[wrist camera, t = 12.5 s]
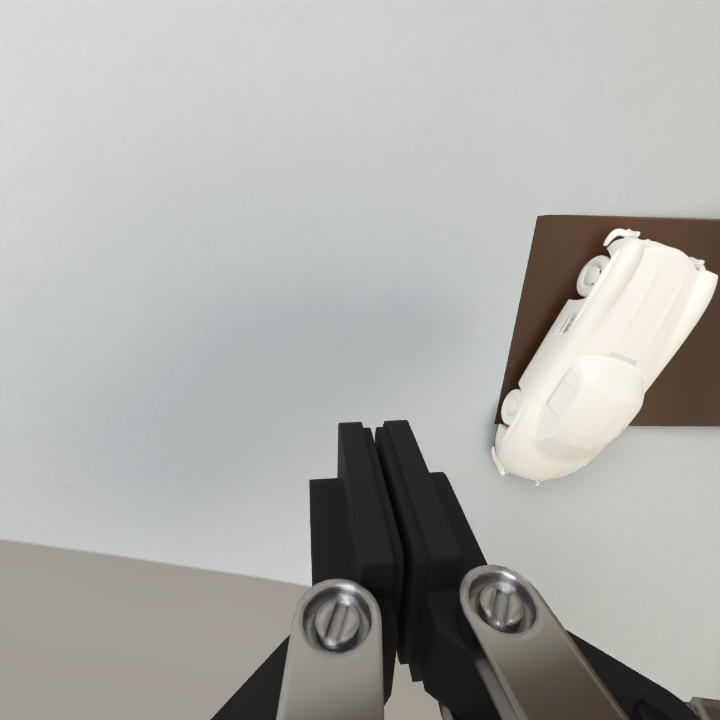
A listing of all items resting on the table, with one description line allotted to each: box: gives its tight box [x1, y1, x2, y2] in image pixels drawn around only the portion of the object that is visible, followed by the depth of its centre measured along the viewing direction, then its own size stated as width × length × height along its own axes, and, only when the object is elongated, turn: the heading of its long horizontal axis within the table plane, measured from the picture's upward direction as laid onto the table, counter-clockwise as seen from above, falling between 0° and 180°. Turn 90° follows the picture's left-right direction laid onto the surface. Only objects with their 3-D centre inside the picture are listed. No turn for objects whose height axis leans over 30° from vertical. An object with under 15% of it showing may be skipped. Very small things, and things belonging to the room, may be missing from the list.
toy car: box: [492, 229, 718, 487], centre depth 18 cm, size 5×12×4 cm, turn 159°
